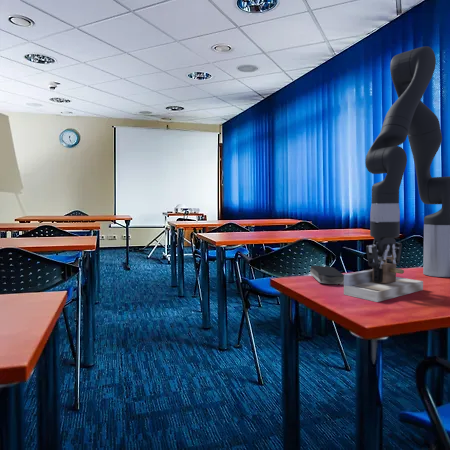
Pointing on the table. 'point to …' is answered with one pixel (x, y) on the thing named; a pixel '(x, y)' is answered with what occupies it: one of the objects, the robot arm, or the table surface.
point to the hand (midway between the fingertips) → (384, 280)
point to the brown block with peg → (389, 273)
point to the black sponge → (327, 275)
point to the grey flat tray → (378, 286)
